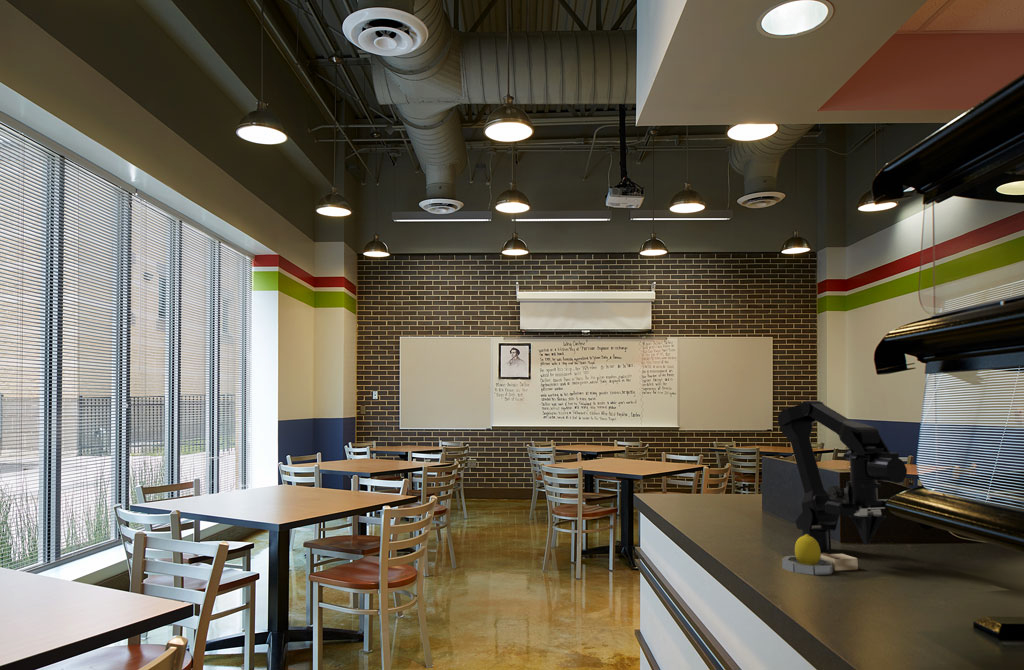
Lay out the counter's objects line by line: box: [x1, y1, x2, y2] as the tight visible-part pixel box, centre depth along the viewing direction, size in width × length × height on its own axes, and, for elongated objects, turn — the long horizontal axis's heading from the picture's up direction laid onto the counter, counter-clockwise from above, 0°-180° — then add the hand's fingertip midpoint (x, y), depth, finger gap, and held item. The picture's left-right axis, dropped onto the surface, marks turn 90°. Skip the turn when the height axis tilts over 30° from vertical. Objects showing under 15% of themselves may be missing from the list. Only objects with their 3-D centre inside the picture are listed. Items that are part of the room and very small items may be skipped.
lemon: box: [794, 534, 822, 565], centre depth 157 cm, size 6×6×8 cm
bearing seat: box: [781, 555, 834, 576], centre depth 157 cm, size 10×10×2 cm
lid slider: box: [820, 552, 859, 572], centre depth 159 cm, size 6×5×3 cm
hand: (866, 543), depth 163 cm, fingers closed
